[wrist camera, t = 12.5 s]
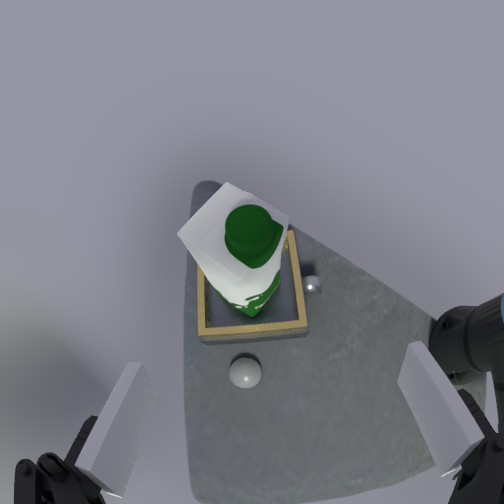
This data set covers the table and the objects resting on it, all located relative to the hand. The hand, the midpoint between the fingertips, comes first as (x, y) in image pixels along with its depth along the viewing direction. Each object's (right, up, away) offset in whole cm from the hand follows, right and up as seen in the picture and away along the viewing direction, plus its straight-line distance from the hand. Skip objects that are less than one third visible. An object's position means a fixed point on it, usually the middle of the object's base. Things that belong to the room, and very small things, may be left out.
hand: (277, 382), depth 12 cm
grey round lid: (-2, -13, +29) cm, 32 cm away
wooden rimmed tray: (0, -1, +34) cm, 34 cm away
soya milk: (-2, +1, +30) cm, 30 cm away
